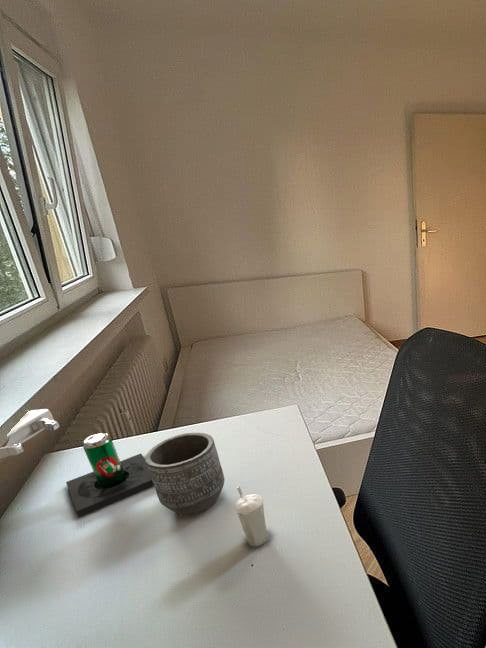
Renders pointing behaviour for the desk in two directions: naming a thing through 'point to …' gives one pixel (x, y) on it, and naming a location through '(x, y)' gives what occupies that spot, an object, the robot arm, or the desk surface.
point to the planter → (186, 473)
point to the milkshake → (252, 518)
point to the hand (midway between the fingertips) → (38, 436)
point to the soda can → (104, 460)
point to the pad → (93, 498)
